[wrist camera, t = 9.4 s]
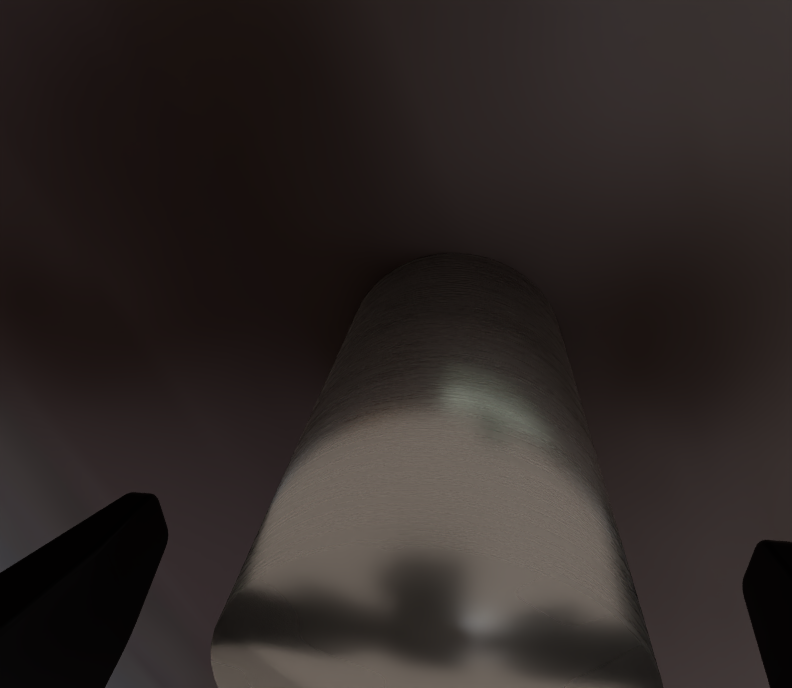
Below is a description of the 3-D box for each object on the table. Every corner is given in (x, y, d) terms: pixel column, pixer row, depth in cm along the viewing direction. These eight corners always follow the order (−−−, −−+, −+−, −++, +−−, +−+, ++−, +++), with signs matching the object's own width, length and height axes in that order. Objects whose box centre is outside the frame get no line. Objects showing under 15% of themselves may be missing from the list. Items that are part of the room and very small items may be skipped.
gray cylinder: (574, 255, 12) (719, 569, 5) (550, 442, 14) (622, 837, 7) (343, 251, 12) (166, 526, 5) (356, 431, 15) (247, 784, 8)
